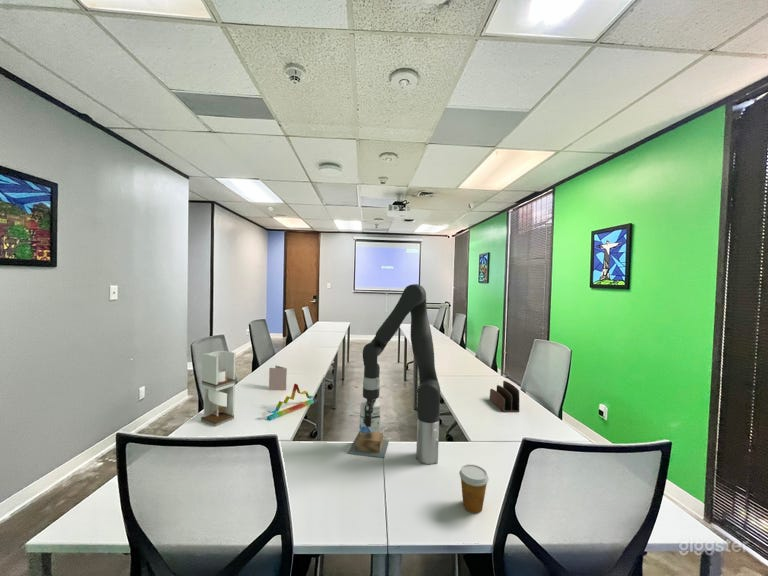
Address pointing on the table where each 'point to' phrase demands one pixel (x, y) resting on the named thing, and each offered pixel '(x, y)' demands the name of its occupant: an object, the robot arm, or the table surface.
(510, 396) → the letter holder
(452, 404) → the table surface
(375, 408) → the ink box
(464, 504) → the disposable coffee cup
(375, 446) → the open cardboard box
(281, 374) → the greeting card
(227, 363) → the tiered shelf stand
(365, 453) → the pad
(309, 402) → the chart
